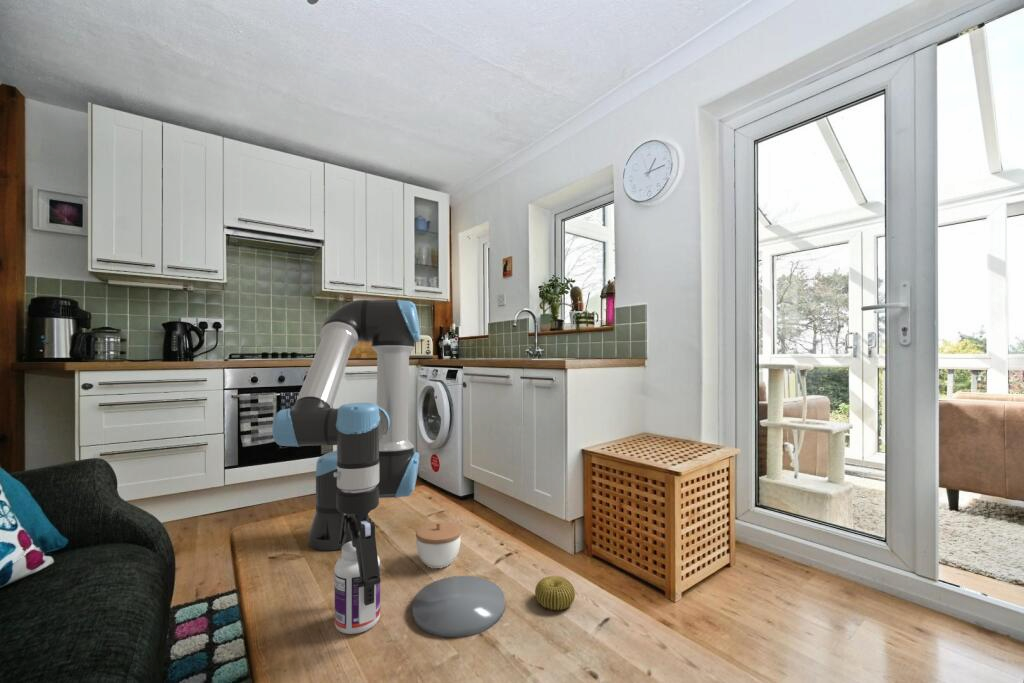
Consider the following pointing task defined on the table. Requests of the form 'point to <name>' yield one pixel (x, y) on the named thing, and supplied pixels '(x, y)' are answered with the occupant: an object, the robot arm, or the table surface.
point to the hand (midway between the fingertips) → (357, 602)
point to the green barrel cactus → (555, 593)
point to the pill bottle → (350, 593)
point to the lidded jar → (438, 543)
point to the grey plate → (458, 606)
